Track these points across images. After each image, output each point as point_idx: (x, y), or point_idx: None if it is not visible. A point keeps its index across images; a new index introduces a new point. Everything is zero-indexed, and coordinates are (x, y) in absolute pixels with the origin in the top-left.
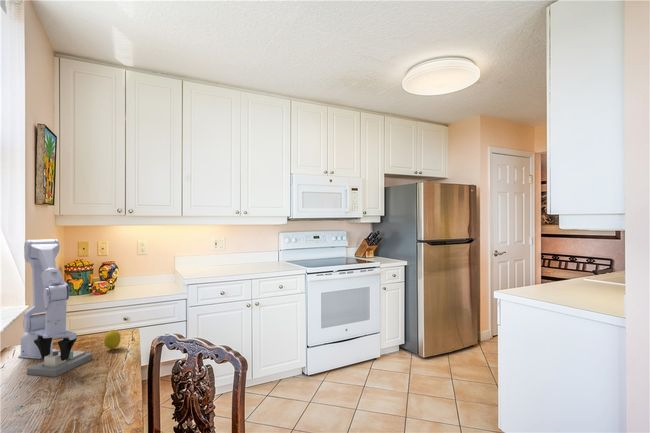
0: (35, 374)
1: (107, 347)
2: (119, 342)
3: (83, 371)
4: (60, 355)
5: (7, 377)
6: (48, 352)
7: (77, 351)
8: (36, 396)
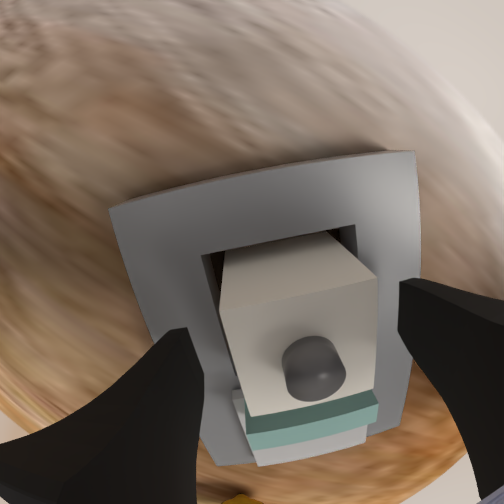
0: (319, 159)
1: (240, 501)
2: None
3: (69, 325)
4: (236, 369)
5: (444, 86)
6: (420, 350)
7: (312, 453)
8: (7, 30)
